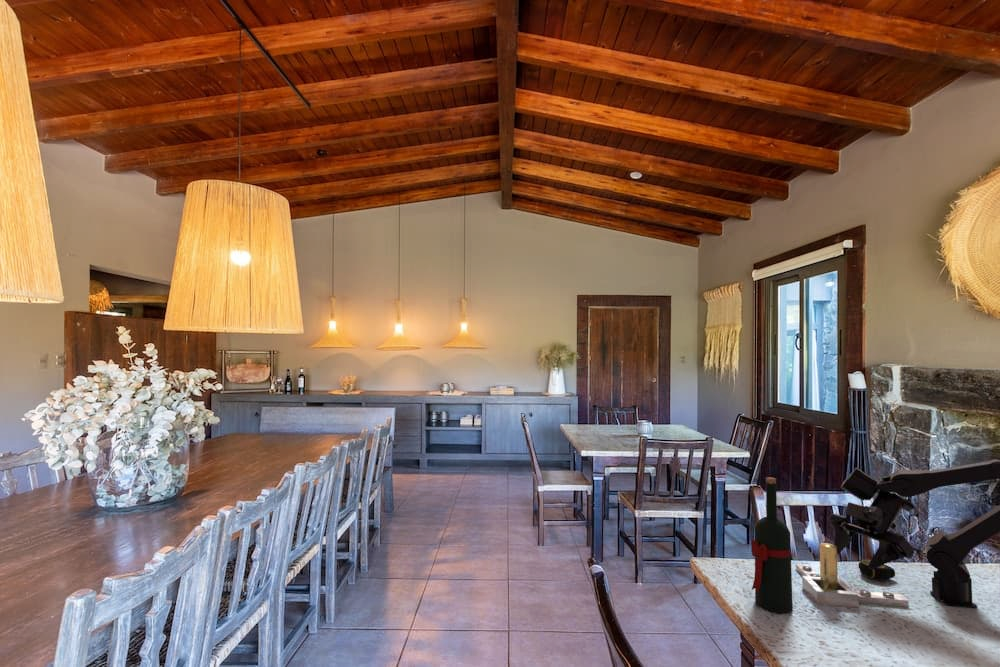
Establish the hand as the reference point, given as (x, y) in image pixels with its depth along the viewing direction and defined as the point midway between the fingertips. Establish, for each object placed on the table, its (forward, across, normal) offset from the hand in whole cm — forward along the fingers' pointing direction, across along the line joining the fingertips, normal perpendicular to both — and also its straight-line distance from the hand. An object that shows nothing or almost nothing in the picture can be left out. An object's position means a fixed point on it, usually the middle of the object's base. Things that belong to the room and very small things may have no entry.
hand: (851, 560), depth 126 cm
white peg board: (+5, -3, +6) cm, 9 cm away
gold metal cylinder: (+11, 0, 0) cm, 11 cm away
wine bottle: (+24, 0, -12) cm, 27 cm away
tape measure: (-5, -6, +17) cm, 19 cm away
